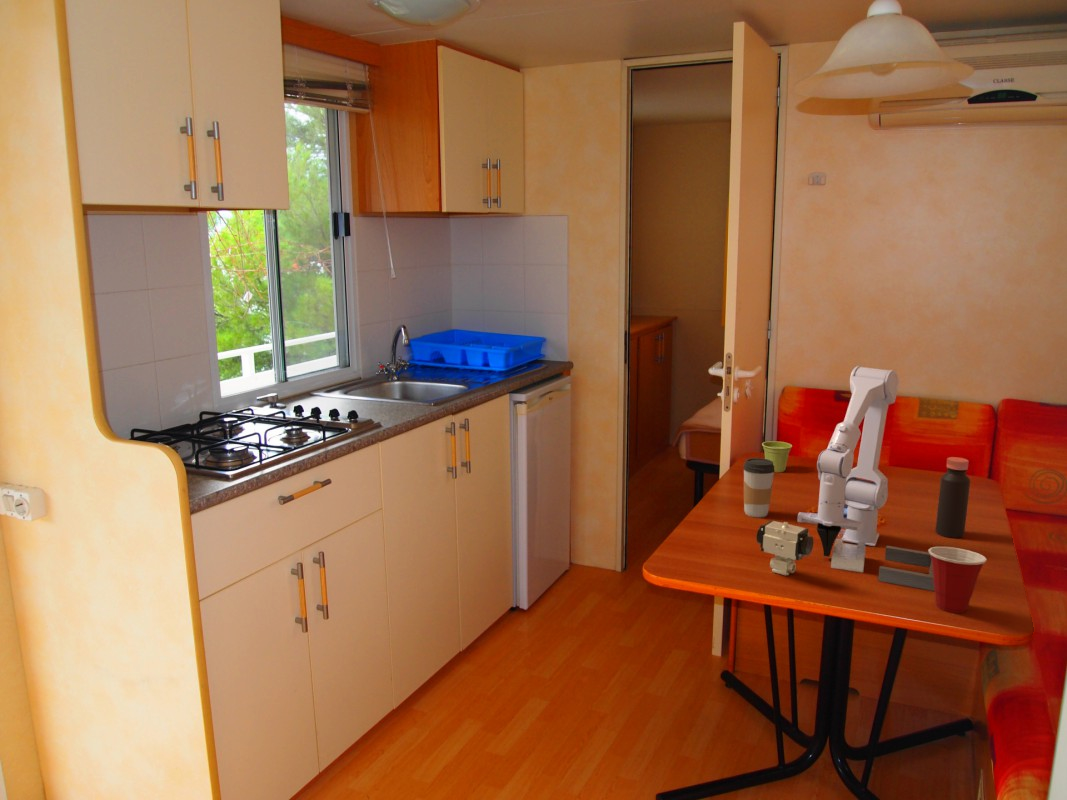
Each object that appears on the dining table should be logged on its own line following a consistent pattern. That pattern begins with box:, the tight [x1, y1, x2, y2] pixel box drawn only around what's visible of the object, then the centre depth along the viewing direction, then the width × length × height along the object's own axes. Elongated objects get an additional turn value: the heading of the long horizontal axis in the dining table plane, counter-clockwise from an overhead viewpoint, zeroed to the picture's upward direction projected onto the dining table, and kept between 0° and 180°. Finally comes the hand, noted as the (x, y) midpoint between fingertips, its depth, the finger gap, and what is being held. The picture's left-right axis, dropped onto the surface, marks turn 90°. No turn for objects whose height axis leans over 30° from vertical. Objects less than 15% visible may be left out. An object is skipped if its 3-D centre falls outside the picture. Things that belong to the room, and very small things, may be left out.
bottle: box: [934, 456, 971, 539], centre depth 219 cm, size 7×7×20 cm
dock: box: [877, 545, 935, 592], centre depth 194 cm, size 16×12×3 cm
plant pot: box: [761, 440, 793, 473], centre depth 278 cm, size 9×9×9 cm
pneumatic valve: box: [756, 520, 814, 577], centre depth 193 cm, size 6×12×12 cm, turn 51°
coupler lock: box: [830, 537, 867, 573], centre depth 201 cm, size 10×7×4 cm
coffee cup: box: [743, 457, 775, 518], centre depth 234 cm, size 8×8×15 cm
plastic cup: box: [927, 546, 987, 614], centre depth 176 cm, size 11×11×12 cm
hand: (827, 554), depth 203 cm, fingers closed
